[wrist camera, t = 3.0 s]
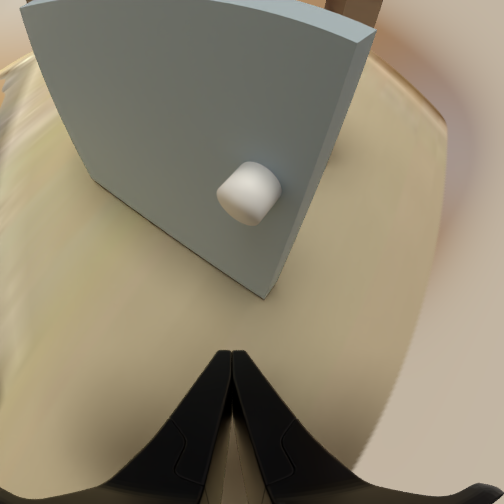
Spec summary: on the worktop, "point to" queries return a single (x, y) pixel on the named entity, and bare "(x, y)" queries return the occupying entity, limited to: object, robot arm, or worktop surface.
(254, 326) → the worktop surface
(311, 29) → the door
